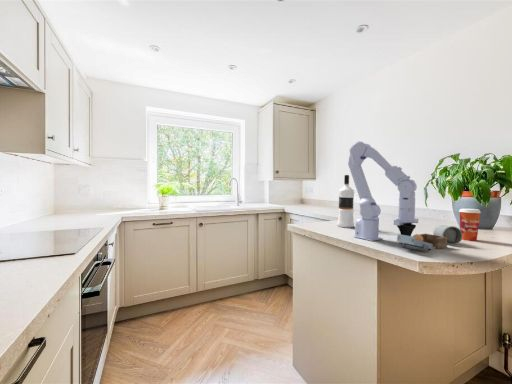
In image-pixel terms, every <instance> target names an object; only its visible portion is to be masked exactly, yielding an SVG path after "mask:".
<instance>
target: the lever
mask: <svg viewBox="0 0 512 384" xmlns="http://www.w3.org/2000/svg"><path fill="white" fill-rule="evenodd" d="M396 242H398V243H402V244H403V243H406V244H409V245H414V246H418V247H423V248H424V245H428V250H434V247H433V246H434V245H433V244H431V243H427V242H423V241H419V240H416V237H413V235H411V236H407V235H401V233H398V234H397V238H396Z"/></svg>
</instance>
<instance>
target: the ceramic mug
mask: <svg viewBox="0 0 512 384" xmlns="http://www.w3.org/2000/svg"><path fill="white" fill-rule="evenodd" d="M432 235H437V236H443V237H447V245H451V246H455V245H457V244H459V243H460V242H461V241H462V232H461V231H460V227H459V228H458V227H457V226H454V225H446V224H443V225H437V226H436V227H435V228H434V229H433V234H432Z"/></svg>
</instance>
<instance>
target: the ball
mask: <svg viewBox="0 0 512 384" xmlns="http://www.w3.org/2000/svg"><path fill="white" fill-rule="evenodd" d="M419 234H420V233H419ZM419 234H418V233H417V234H414V235H412V237H416V240H419V241H423V237H422V236H421V235H419Z"/></svg>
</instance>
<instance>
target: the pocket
mask: <svg viewBox="0 0 512 384" xmlns="http://www.w3.org/2000/svg"><path fill="white" fill-rule="evenodd" d="M419 235H421V236H422V237H423V242H427V243H431V244H433V246H434V249H436V250H440V249H445V248H447V247H448V244H447V237H443V236H437V235H434V234H431V233H419Z"/></svg>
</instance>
